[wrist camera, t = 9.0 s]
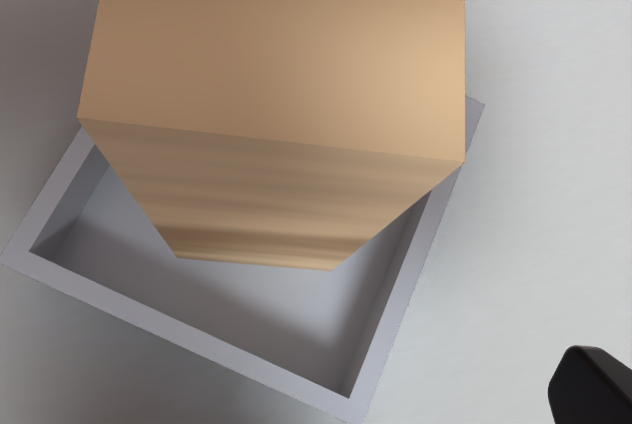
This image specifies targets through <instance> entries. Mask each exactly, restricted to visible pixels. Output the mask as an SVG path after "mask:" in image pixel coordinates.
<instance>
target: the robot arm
mask: <svg viewBox="0 0 632 424" xmlns="http://www.w3.org/2000/svg"><path fill="white" fill-rule="evenodd" d="M548 399H549V404H550V407H551V411H552V414H553V418H554V422H555V424H632V370H631V369H630V368H628V367H627V366H625V365H624V364H623V363H621V362H620V361H618V360H617V359H616V358H614V357H613V356H611V355H610V354H608V353H607V352H606V351H604V350H603V349H601V348H598V347H591V346H578V345H575V346H571V347H570V348H568V349H567V350H566V352H565V353H564V355H563V357H562V359H561V361H560V363H559V365H558V367H557V369H556V371H555V373H554V375H553V377H552V379H551V381H550V383H549V387H548Z"/></svg>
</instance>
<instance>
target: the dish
mask: <svg viewBox="0 0 632 424" xmlns="http://www.w3.org/2000/svg"><path fill="white" fill-rule="evenodd" d="M484 106H485V105H484V104H482V103H480V102H478V101H476V100H474V99H472V98H470V97H468V96H466V95H465V155H466V153H467V150H468V148H469V145H470V142H471V140H472V137H473V135H474V132H475V129H476V127H477V124H478V122H479V119H480V116H481V114H482V111H483V109H484ZM461 166H462V165H461ZM461 166H460V167H458V168H457V169H456V170H455V171H453V172H452V173H451V174H450V175H448V176H447V177H446V178H445V179H444V180H442V181H441V182H440V183H439V184H437V185H436V186H435V187H434V188H433V189H431V190H430V191H429V192H428V193H426V194H425V195H424V196H423V197H421V198H420V199H419V200H418V201H417V202H415V203H414V204H413V205H412V206H410V207H409V208H408V209H407V210H406V211H404V212H403V213H402V214H401V215H399V216H398V217H397V218H396V219H394V220H393V221H392V222H391V223H390V224H388V225H387V226H386V227H385V228H383V229H382V230H381V231H380V232H379V233H377V234H376V235H375V236H374V237H372V238H371V239H370V240H369V241H367V242H366V243H365V244H364V245H363V246H361V247H360V248H359V249H358V250H356V251H355V252H354V253H353V254H352V255H350V256H349V257H348V258H347V259H345V260H344V261H343V262H342V263H340V264H339V265H338V266H337V267H336V268H334V269H333V270H332V271H320V270H309V269H297V268H285V267H274V266H262V265H251V264H239V263H228V262H216V261H204V260H193V259H181V258H177V257H176V256H175V254H174V253H173V252H172V250H171V249H170V247H169V246H168V245H167V243H166V242H165V240H164V239H163V238H162V236H161V235H160V233H159V232H158V231H157V229H156V228H155V227H154V225H153V224H152V222H151V221H150V220H149V218H148V217H147V215H146V214H145V213H144V211H143V210H142V208H141V207H140V206H139V204H138V203H137V201H136V200H135V199H134V197H133V196H132V194H131V193H130V192H129V190H128V189H127V188H126V186H125V185H124V183H123V182H122V181H121V179H120V178H119V176H118V175H117V174H116V172H115V171H114V169H113V168H112V167H111V165H110V164H109V162H108V161H107V160H106V158H105V157H104V155H103V154H102V153H101V151H100V150H99V149H98V147H97V146H96V144H95V143H94V142H93V140H92V139H91V137H90V136H89V135H88V133H87V132H86V130H85V129H84V128H83V126H81V128H80V130H79V131H78V133H77V134H76V136H75V137H74V139H73V141H72V142H71V144H70V145H69V147H68V149H67V150H66V152H65V153H64V155H63V157H62V158H61V160H60V161H59V163H58V164H57V166H56V168H55V169H54V171H53V172H52V174H51V176H50V177H49V179H48V180H47V182H46V184H45V185H44V187H43V188H42V190H41V191H40V193H39V195H38V196H37V198H36V199H35V201H34V203H33V204H32V206H31V207H30V209H29V210H28V212H27V214H26V215H25V217H24V218H23V220H22V222H21V223H20V225H19V226H18V228H17V230H16V231H15V233H14V234H13V236H12V237H11V239H10V241H9V242H8V244H7V245H6V247H5V249H4V250H3V252H2V253H1V255H0V264H2V265H4V266H6V267H8V268H11V269H13V270H15V271H17V272H19V273H22V274H24V275H26V276H28V277H30V278H32V279H35V280H37V281H39V282H41V283H43V284H46V285H48V286H50V287H52V288H54V289H56V290H59V291H61V292H63V293H65V294H67V295H70V296H72V297H74V298H76V299H78V300H80V301H83V302H85V303H87V304H89V305H91V306H94V307H96V308H98V309H100V310H102V311H104V312H107V313H109V314H111V315H113V316H115V317H118V318H120V319H122V320H124V321H126V322H128V323H131V324H133V325H135V326H137V327H139V328H142V329H144V330H146V331H148V332H150V333H152V334H155V335H157V336H159V337H161V338H163V339H165V340H168V341H170V342H172V343H174V344H176V345H179V346H181V347H183V348H185V349H187V350H189V351H192V352H194V353H196V354H198V355H200V356H203V357H205V358H207V359H209V360H211V361H213V362H216V363H218V364H220V365H222V366H224V367H227V368H229V369H231V370H233V371H235V372H237V373H240V374H242V375H244V376H246V377H248V378H251V379H253V380H255V381H257V382H259V383H261V384H264V385H266V386H268V387H270V388H272V389H275V390H277V391H279V392H281V393H283V394H285V395H288V396H290V397H292V398H294V399H296V400H298V401H301V402H303V403H305V404H307V405H309V406H312V407H314V408H316V409H318V410H320V411H322V412H325V413H327V414H329V415H331V416H333V417H336V418H338V419H340V420H342V421H344V422H346V423H349V424H362V423H363V421H364V418H365V415H366V413H367V410H368V408H369V405H370V402H371V400H372V397H373V395H374V392H375V389H376V387H377V384H378V382H379V379H380V376H381V374H382V371H383V369H384V366H385V363H386V361H387V358H388V356H389V353H390V350H391V348H392V345H393V343H394V340H395V337H396V335H397V332H398V330H399V327H400V324H401V322H402V319H403V317H404V314H405V311H406V309H407V306H408V304H409V301H410V298H411V296H412V293H413V291H414V288H415V285H416V283H417V280H418V278H419V275H420V272H421V270H422V267H423V265H424V262H425V259H426V257H427V254H428V252H429V249H430V246H431V244H432V241H433V239H434V236H435V233H436V231H437V228H438V226H439V223H440V220H441V218H442V215H443V213H444V210H445V207H446V205H447V202H448V200H449V197H450V194H451V192H452V189H453V187H454V184H455V181H456V179H457V176H458V174H459V171H460V168H461Z"/></svg>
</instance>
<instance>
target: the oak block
mask: <svg viewBox="0 0 632 424" xmlns="http://www.w3.org/2000/svg"><path fill="white" fill-rule="evenodd" d="M76 118H77V119H78V121H79V122H80V123H81V125H82V126H83V128H84V129H85V130H86V132H87V133H88V135H89V136H90V137H91V139H92V140H93V142H94V143H95V144H96V146H97V147H98V149H99V150H100V151H101V153H102V154H103V155H104V157H105V158H106V160H107V161H108V162H109V164H110V165H111V167H112V168H113V169H114V171H115V172H116V174H117V175H118V176H119V178H120V179H121V181H122V182H123V183H124V185H125V186H126V188H127V189H128V190H129V192H130V193H131V194H132V196H133V197H134V199H135V200H136V201H137V203H138V204H139V206H140V207H141V208H142V210H143V211H144V213H145V214H146V215H147V217H148V218H149V220H150V221H151V222H152V224H153V225H154V227H155V228H156V229H157V231H158V232H159V233H160V235H161V236H162V238H163V239H164V240H165V242H166V243H167V245H168V246H169V247H170V249H171V250H172V252H173V253H174V254H175V256H176V257H177V258H181V259H193V260H204V261H216V262H228V263H239V264H251V265H262V266H274V267H285V268H297V269H309V270H320V271H332V270H333V269H334V268H336V267H337V266H338V265H339V264H340V263H342V262H343V261H344V260H345V259H347V258H348V257H349V256H350V255H352V254H353V253H354V252H355V251H356V250H358V249H359V248H360V247H361V246H363V245H364V244H365V243H366V242H367V241H369V240H370V239H371V238H372V237H374V236H375V235H376V234H377V233H379V232H380V231H381V230H382V229H383V228H385V227H386V226H387V225H388V224H390V223H391V222H392V221H393V220H394V219H396V218H397V217H398V216H399V215H401V214H402V213H403V212H404V211H406V210H407V209H408V208H409V207H410V206H412V205H413V204H414V203H415V202H417V201H418V200H419V199H420V198H421V197H423V196H424V195H425V194H426V193H428V192H429V191H430V190H431V189H433V188H434V187H435V186H436V185H437V184H439V183H440V182H441V181H442V180H444V179H445V178H446V177H447V176H448V175H450V174H451V173H452V172H453V171H455V170H456V169H457V168H458V167H460V166H461V165H462V164H463V163H464V162H465V0H99V3H98V8H97V14H96V19H95V24H94V29H93V34H92V39H91V44H90V50H89V55H88V60H87V65H86V70H85V75H84V81H83V86H82V91H81V96H80V101H79V106H78V112H77V117H76Z"/></svg>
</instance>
